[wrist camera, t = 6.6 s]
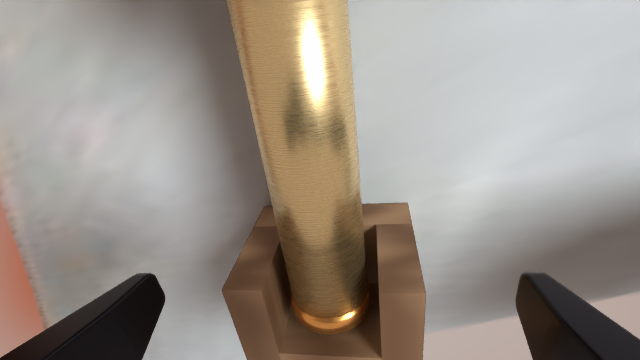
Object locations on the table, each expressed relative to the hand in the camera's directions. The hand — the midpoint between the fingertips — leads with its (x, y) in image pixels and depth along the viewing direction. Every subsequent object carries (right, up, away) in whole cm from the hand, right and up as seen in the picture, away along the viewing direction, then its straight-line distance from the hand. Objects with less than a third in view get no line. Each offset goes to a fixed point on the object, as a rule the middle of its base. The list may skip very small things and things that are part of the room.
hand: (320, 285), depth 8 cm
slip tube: (0, +6, +7) cm, 9 cm away
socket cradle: (+1, -2, +13) cm, 14 cm away
